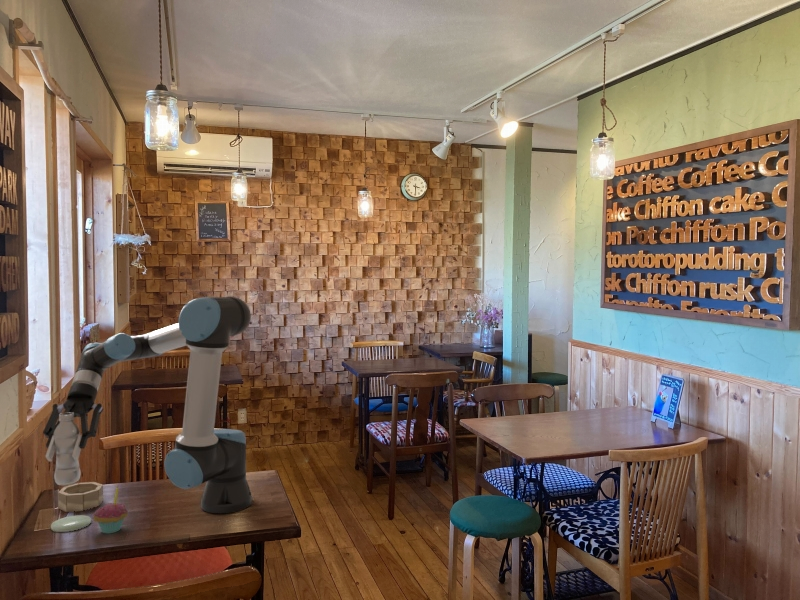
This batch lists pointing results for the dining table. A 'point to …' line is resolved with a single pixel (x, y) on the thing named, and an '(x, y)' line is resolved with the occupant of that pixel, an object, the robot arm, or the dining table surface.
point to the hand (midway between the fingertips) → (61, 458)
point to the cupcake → (111, 516)
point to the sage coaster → (70, 523)
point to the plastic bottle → (66, 450)
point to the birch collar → (80, 496)
